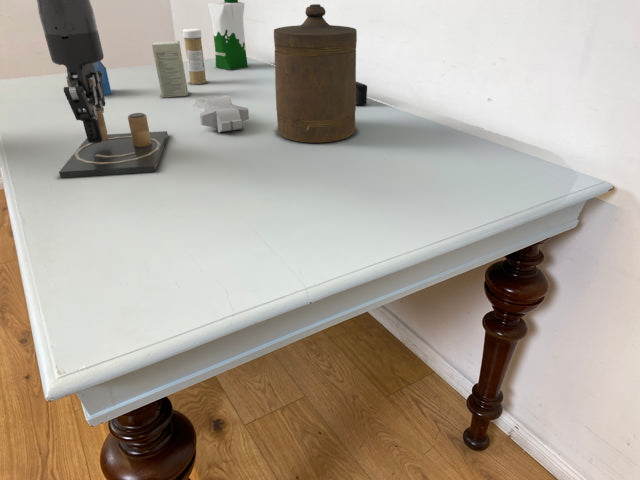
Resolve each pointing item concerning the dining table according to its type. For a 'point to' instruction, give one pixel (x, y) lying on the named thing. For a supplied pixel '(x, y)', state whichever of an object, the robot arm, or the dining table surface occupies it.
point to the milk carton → (228, 34)
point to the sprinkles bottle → (194, 55)
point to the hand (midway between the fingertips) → (98, 138)
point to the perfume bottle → (103, 77)
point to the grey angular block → (221, 113)
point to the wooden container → (315, 79)
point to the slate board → (115, 156)
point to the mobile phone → (361, 94)
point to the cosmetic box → (170, 68)
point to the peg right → (139, 129)
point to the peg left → (101, 124)
